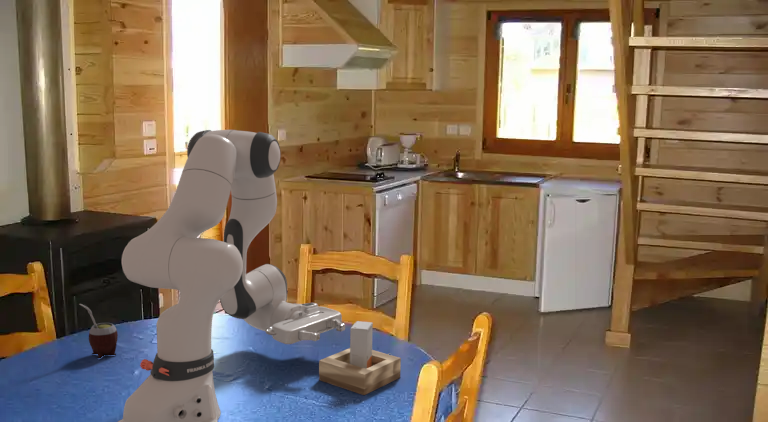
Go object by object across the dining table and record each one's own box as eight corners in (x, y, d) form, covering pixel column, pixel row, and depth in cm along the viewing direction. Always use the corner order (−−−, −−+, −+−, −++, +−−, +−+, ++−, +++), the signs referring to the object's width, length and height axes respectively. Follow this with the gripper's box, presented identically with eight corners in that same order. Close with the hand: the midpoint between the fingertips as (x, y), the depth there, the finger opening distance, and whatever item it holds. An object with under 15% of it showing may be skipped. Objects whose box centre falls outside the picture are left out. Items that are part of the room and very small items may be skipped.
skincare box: (366, 377, 181) (367, 329, 179) (349, 376, 182) (349, 328, 180) (372, 368, 187) (373, 322, 185) (355, 367, 188) (356, 320, 186)
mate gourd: (122, 351, 200) (120, 296, 198) (109, 362, 193) (106, 304, 190) (95, 349, 201) (93, 295, 199) (81, 360, 193) (78, 303, 191)
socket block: (364, 395, 175) (364, 374, 174) (319, 380, 183) (319, 360, 182) (400, 377, 185) (400, 358, 185) (356, 364, 194) (356, 345, 193)
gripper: (261, 318, 188) (301, 330, 180) (317, 301, 204) (357, 311, 196) (261, 343, 189) (301, 356, 181) (317, 323, 205) (356, 334, 197)
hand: (330, 332), depth 188 cm, fingers open, 8 cm apart
